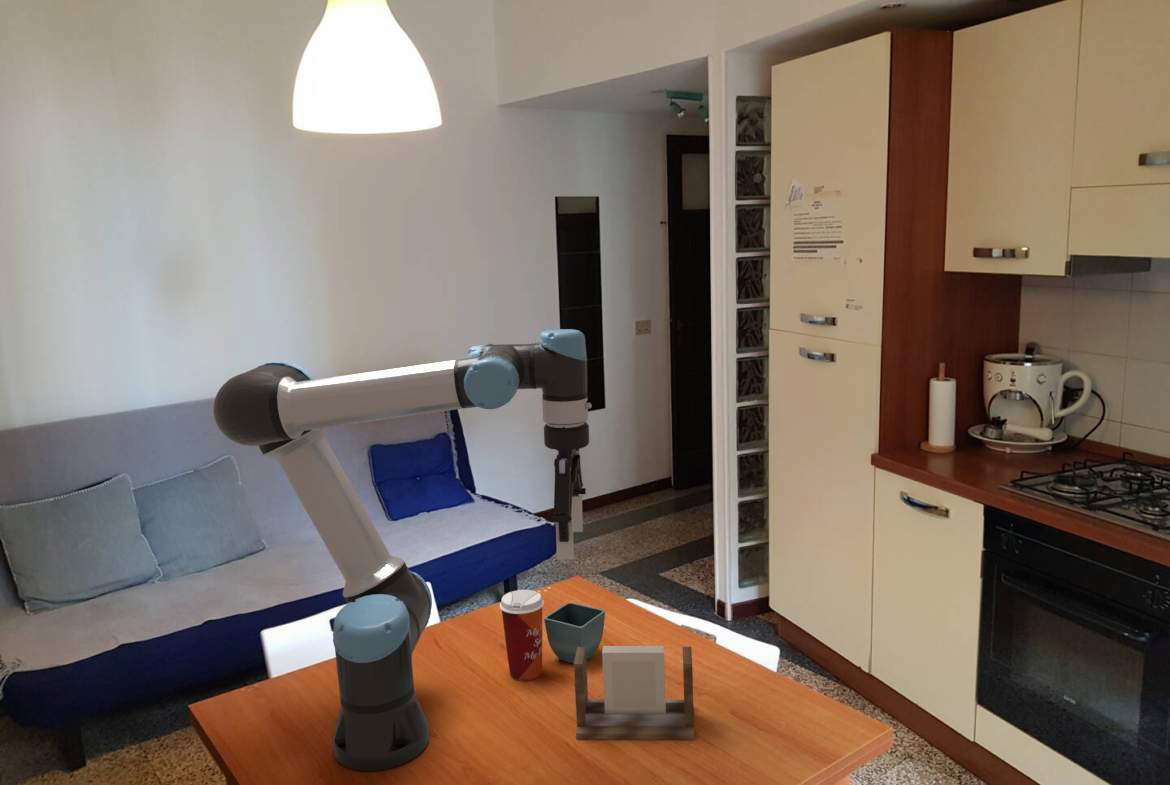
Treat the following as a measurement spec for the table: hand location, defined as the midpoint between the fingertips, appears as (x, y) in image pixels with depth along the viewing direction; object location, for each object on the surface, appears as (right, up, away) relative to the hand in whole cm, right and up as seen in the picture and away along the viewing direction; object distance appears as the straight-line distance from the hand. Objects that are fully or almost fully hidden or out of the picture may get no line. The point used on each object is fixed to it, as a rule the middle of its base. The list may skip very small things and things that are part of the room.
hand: (570, 544), depth 152 cm
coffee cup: (-9, -27, +15) cm, 32 cm away
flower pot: (+1, -25, +20) cm, 32 cm away
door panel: (+11, -28, -4) cm, 30 cm away
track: (+11, -29, -4) cm, 31 cm away
